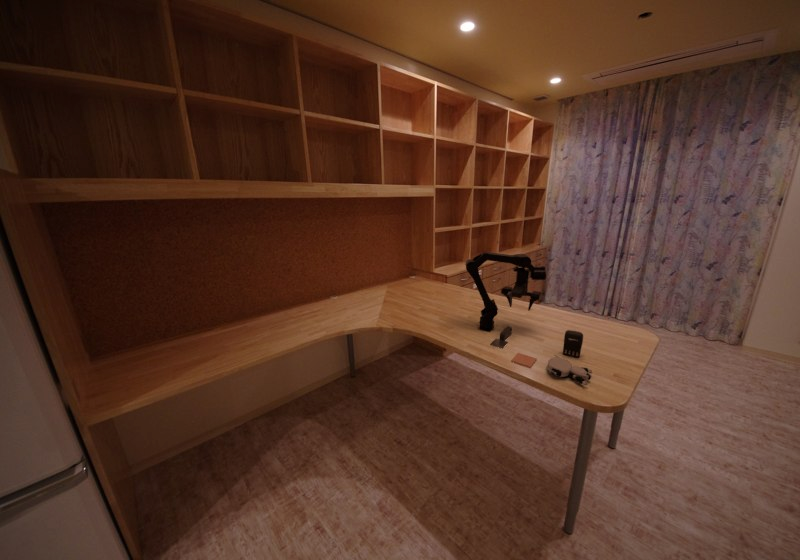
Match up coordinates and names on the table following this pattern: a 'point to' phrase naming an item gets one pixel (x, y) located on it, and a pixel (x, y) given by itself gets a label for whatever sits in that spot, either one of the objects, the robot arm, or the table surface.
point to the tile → (524, 360)
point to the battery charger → (572, 343)
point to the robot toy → (568, 370)
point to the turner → (502, 338)
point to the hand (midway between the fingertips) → (519, 308)
